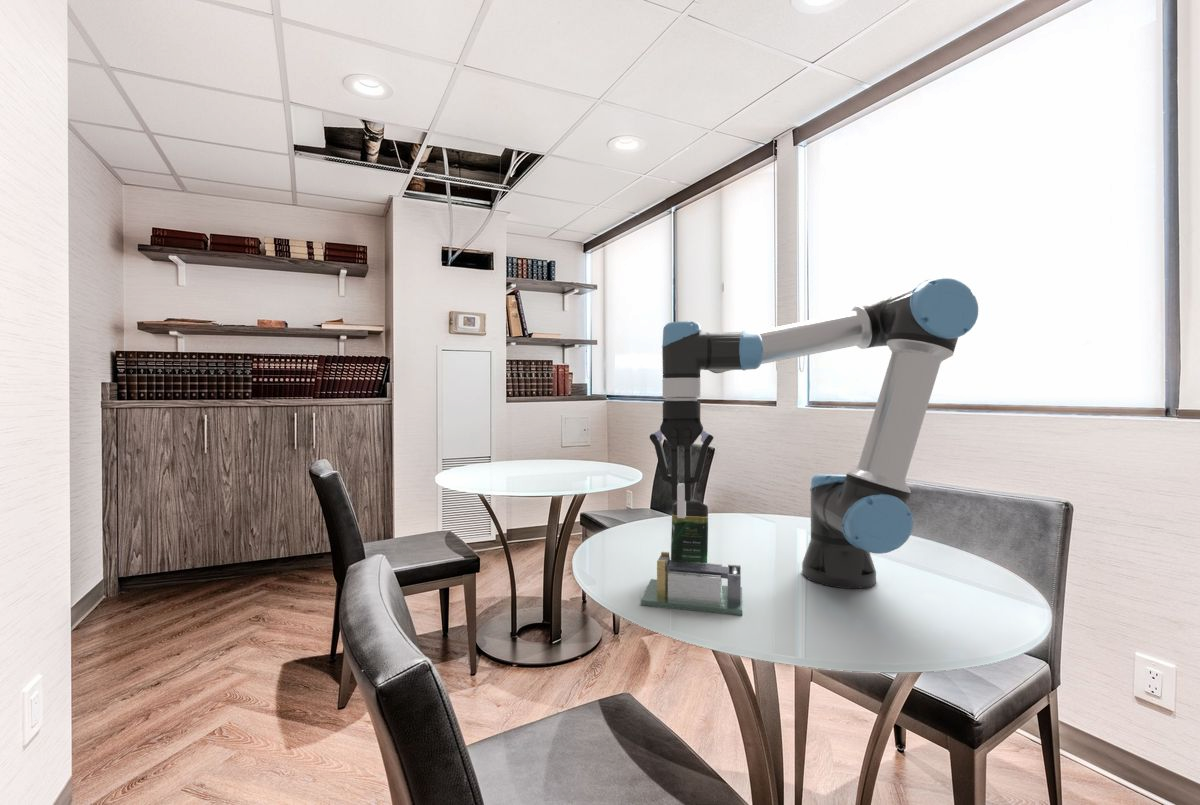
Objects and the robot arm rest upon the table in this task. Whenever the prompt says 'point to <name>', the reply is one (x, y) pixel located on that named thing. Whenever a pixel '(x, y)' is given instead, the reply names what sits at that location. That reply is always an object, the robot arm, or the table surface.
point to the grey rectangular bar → (695, 567)
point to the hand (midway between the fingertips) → (681, 516)
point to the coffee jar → (690, 533)
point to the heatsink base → (695, 590)
